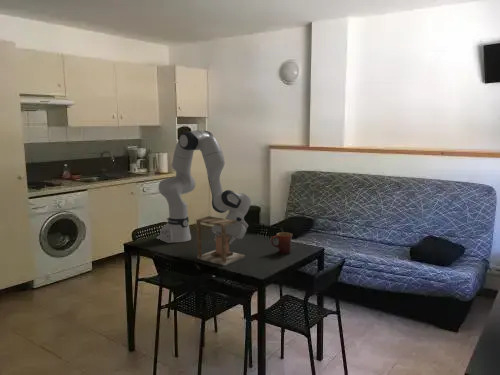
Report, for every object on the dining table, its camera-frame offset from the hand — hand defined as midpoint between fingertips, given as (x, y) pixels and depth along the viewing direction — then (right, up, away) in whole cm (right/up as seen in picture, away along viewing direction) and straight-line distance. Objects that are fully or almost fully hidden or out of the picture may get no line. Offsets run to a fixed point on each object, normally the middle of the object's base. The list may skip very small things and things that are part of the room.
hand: (222, 242), depth 226 cm
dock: (-1, -8, 0) cm, 8 cm away
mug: (+32, -7, +8) cm, 34 cm away
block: (0, -7, +1) cm, 7 cm away
